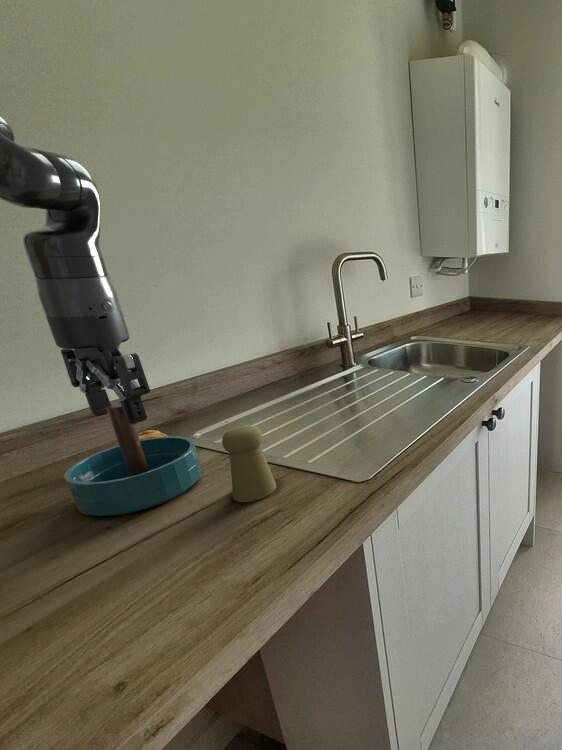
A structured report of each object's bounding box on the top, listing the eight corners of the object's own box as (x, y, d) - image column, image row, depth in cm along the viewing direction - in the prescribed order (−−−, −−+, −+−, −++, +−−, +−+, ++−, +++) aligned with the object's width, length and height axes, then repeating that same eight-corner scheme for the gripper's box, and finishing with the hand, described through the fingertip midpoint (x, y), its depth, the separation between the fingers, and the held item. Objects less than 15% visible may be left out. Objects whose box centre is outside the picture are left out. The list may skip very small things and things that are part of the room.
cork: (270, 476, 70) (257, 417, 66) (281, 491, 66) (268, 428, 62) (228, 491, 66) (212, 428, 62) (238, 507, 62) (221, 441, 58)
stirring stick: (130, 488, 65) (102, 407, 61) (147, 480, 67) (121, 401, 63) (140, 491, 64) (111, 409, 60) (157, 483, 66) (131, 403, 62)
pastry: (173, 459, 76) (167, 441, 74) (124, 472, 71) (117, 453, 70) (171, 442, 82) (166, 425, 81) (127, 453, 78) (120, 435, 77)
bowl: (55, 507, 62) (41, 472, 60) (166, 460, 75) (157, 431, 73) (117, 530, 57) (103, 493, 55) (224, 475, 70) (215, 444, 68)
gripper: (18, 311, 56) (60, 420, 61) (79, 317, 51) (119, 435, 56) (88, 304, 62) (120, 403, 68) (148, 309, 58) (178, 415, 63)
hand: (120, 417), depth 62 cm, fingers open, 8 cm apart
